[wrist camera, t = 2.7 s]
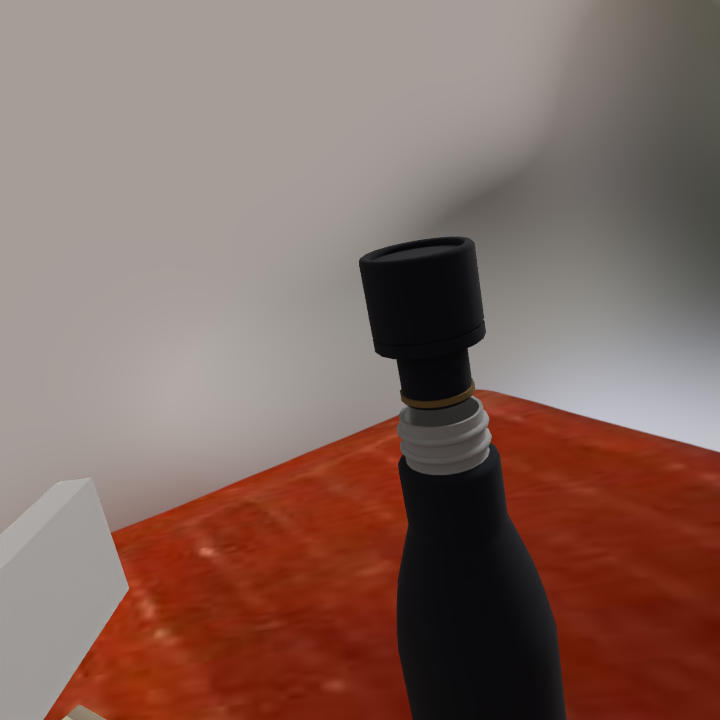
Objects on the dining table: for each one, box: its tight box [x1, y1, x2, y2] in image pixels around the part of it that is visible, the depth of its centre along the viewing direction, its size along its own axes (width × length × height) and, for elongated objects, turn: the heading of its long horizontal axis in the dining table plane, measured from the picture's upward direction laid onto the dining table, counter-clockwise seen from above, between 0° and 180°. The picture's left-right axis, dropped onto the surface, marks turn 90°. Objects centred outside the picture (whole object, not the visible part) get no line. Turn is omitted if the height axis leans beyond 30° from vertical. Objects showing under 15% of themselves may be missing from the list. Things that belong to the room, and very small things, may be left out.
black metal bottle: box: [359, 237, 566, 720], centre depth 25 cm, size 6×6×30 cm
